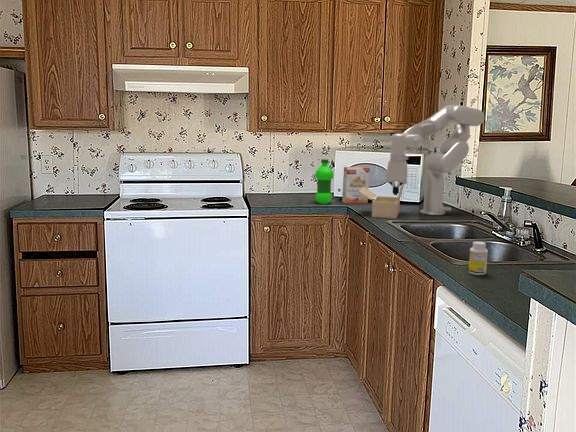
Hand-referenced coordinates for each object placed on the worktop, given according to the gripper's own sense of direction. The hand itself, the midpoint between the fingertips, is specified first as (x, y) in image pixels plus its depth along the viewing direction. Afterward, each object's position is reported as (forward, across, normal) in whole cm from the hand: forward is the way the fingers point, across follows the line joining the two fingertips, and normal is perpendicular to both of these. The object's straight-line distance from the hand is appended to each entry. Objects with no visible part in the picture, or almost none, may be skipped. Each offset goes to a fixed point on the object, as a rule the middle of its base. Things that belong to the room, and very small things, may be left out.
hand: (395, 194), depth 297 cm
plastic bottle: (+11, +42, -26) cm, 51 cm away
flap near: (-2, -2, 0) cm, 3 cm away
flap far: (0, +14, 0) cm, 14 cm away
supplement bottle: (+12, -37, +103) cm, 110 cm away
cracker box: (+11, +26, -34) cm, 44 cm away
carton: (+11, +4, 0) cm, 11 cm away
